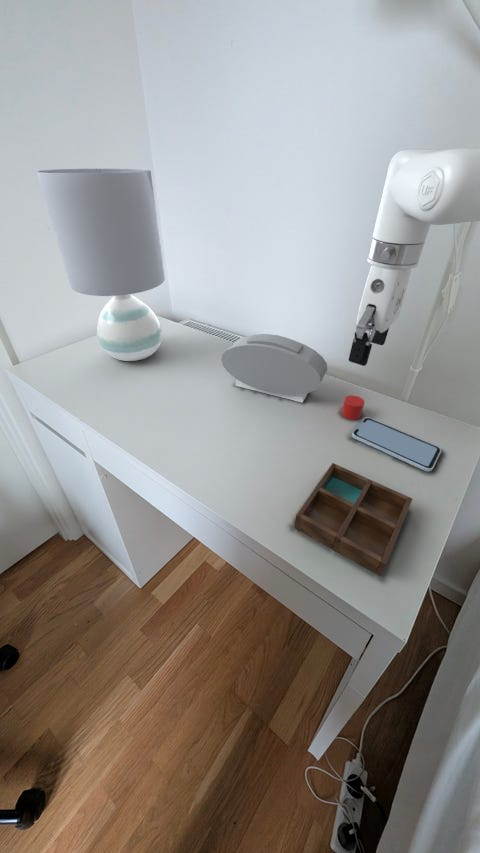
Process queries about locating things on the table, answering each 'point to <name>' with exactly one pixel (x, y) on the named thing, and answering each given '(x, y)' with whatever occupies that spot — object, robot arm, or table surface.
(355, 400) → the red cylinder
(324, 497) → the grid
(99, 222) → the lamp
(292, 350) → the alarm clock
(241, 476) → the table surface
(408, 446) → the smartphone
